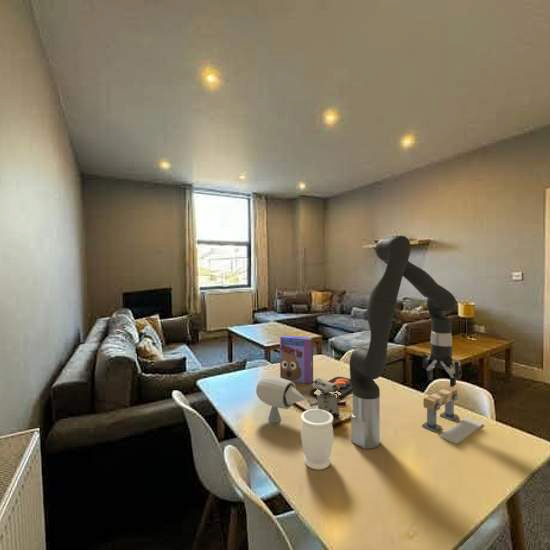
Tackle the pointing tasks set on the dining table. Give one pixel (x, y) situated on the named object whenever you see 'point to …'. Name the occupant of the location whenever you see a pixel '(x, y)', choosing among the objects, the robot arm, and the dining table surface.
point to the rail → (439, 398)
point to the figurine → (326, 396)
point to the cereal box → (296, 359)
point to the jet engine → (277, 395)
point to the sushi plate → (340, 385)
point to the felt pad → (461, 430)
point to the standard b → (450, 409)
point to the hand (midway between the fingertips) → (441, 383)
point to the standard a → (432, 420)
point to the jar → (317, 437)
